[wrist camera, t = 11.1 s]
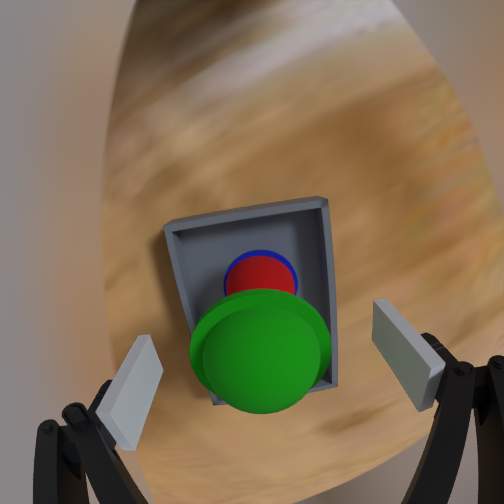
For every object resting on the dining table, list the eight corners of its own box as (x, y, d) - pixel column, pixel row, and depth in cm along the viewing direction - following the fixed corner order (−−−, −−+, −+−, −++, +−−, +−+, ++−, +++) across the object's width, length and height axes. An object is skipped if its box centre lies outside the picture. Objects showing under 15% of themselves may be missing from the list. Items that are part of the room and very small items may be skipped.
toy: (210, 312, 27) (180, 437, 13) (217, 232, 25) (177, 316, 11) (290, 321, 28) (321, 445, 13) (306, 243, 25) (370, 334, 11)
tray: (172, 219, 25) (163, 225, 22) (318, 196, 25) (327, 199, 22) (215, 387, 30) (213, 405, 27) (330, 369, 30) (337, 386, 27)
